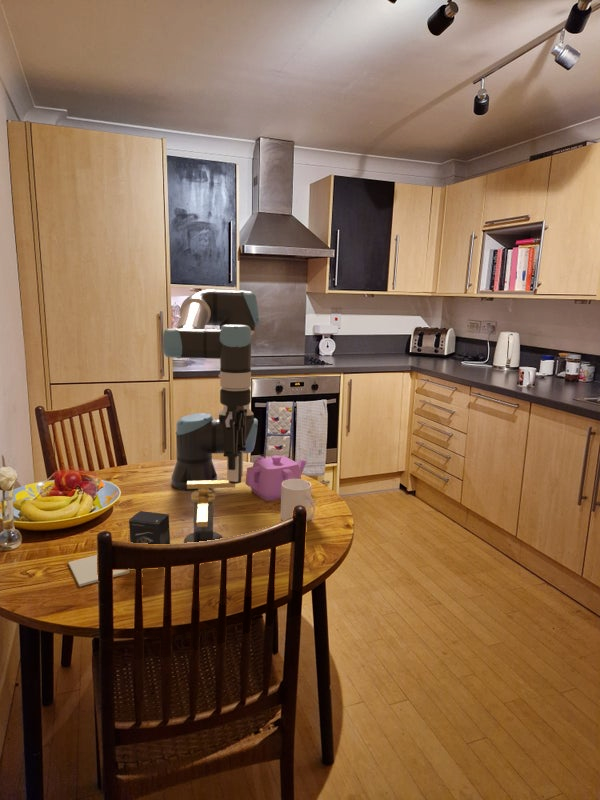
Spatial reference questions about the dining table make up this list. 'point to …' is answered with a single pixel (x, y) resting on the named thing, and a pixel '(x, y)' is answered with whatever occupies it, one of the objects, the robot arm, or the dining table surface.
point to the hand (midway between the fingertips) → (235, 477)
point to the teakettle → (272, 475)
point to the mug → (296, 497)
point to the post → (203, 532)
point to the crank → (209, 493)
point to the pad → (89, 570)
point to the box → (149, 528)
